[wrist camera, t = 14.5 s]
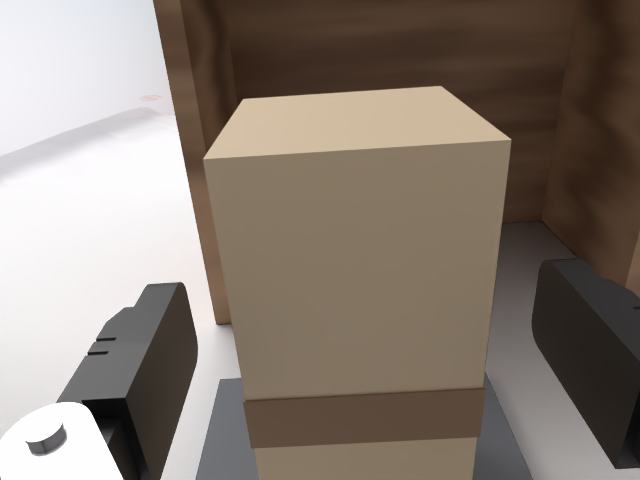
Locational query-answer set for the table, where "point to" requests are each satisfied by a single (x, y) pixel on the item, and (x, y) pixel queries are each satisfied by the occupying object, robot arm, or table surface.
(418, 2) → the cubby
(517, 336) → the table surface
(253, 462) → the mat
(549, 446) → the table surface
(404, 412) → the block
